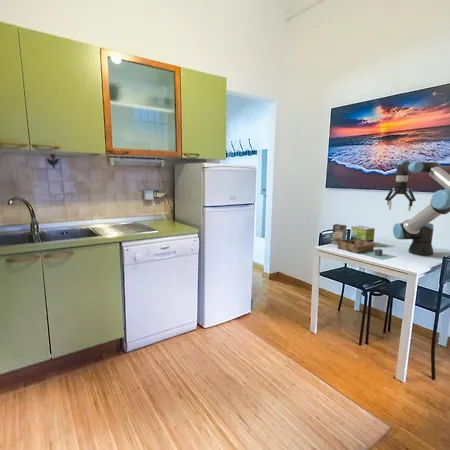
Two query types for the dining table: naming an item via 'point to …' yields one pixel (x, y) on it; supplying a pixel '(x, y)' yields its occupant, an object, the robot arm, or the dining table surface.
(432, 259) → the dining table surface
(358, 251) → the walnut box
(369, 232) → the tea box
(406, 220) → the robot arm
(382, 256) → the cover plate
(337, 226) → the coffee box
